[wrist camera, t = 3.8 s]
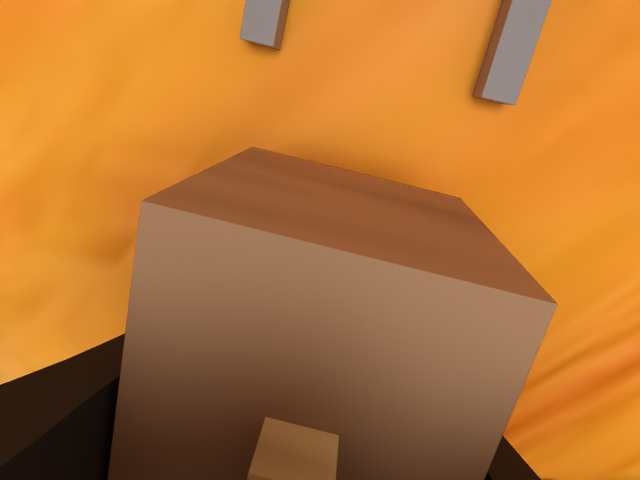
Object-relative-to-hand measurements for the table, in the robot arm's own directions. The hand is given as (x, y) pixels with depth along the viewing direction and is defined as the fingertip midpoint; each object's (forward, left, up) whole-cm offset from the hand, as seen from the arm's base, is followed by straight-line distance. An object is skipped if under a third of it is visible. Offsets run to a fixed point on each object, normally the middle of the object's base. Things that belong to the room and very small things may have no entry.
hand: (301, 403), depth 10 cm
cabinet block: (0, 0, -3) cm, 3 cm away
